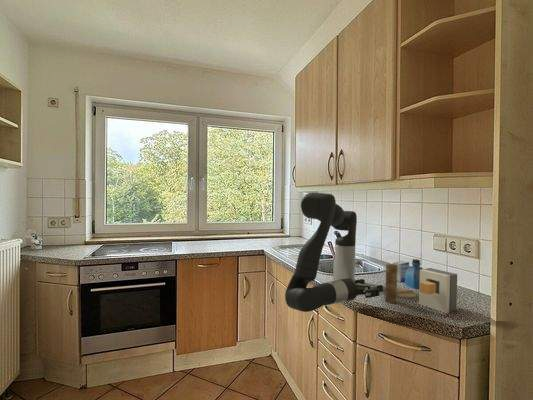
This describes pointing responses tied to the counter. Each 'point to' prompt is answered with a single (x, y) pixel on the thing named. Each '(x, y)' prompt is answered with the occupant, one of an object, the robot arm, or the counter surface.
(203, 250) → the counter surface
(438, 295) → the box
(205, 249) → the counter surface
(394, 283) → the brown wooden cylinder
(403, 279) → the medicine box
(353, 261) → the robot arm
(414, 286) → the perfume bottle
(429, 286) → the button
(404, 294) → the stand
